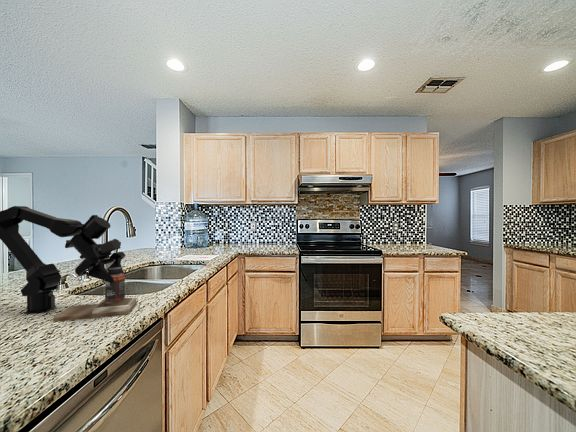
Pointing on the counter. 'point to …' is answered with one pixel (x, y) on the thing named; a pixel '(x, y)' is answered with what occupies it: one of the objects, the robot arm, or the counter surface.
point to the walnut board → (97, 310)
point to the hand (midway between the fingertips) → (119, 279)
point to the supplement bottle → (115, 285)
